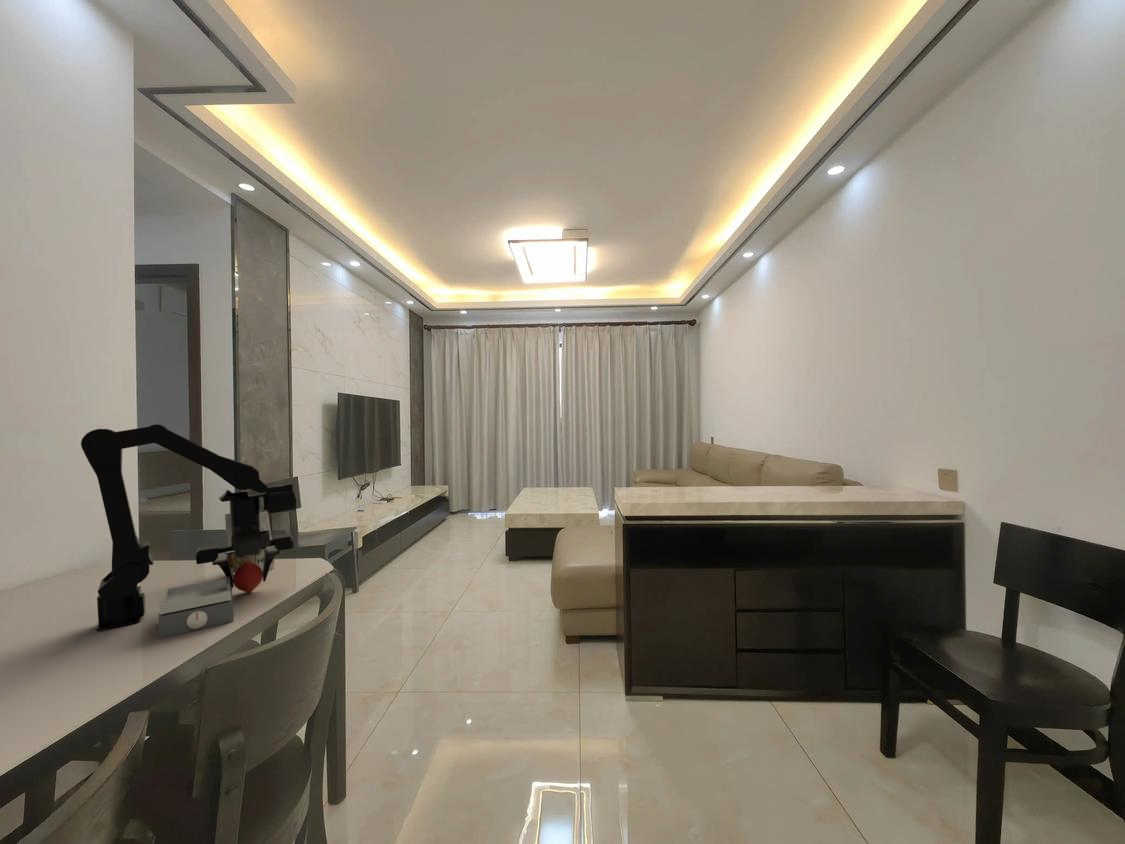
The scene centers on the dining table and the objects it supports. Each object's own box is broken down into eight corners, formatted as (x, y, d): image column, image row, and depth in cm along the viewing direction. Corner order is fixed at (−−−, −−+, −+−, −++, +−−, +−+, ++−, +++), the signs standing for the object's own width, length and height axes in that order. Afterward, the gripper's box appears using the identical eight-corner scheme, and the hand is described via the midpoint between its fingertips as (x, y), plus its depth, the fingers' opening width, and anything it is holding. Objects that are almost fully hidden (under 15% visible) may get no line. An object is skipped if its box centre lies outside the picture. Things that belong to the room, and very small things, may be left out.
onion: (239, 599, 109) (237, 564, 109) (229, 594, 112) (228, 560, 112) (267, 591, 113) (266, 557, 113) (257, 586, 117) (256, 553, 117)
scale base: (158, 639, 90) (157, 618, 90) (165, 618, 100) (164, 599, 99) (233, 622, 96) (232, 602, 96) (232, 603, 106) (231, 585, 106)
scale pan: (160, 614, 90) (159, 605, 90) (165, 597, 99) (165, 588, 99) (231, 599, 97) (230, 590, 97) (230, 584, 106) (229, 576, 106)
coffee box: (275, 567, 132) (273, 508, 132) (256, 575, 126) (253, 513, 125) (247, 566, 134) (244, 508, 133) (226, 574, 127) (223, 513, 127)
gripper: (193, 530, 100) (197, 605, 101) (295, 517, 111) (298, 584, 111) (195, 522, 109) (199, 590, 110) (289, 510, 120) (292, 572, 121)
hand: (248, 584), depth 113 cm, fingers closed on onion, 6 cm apart
